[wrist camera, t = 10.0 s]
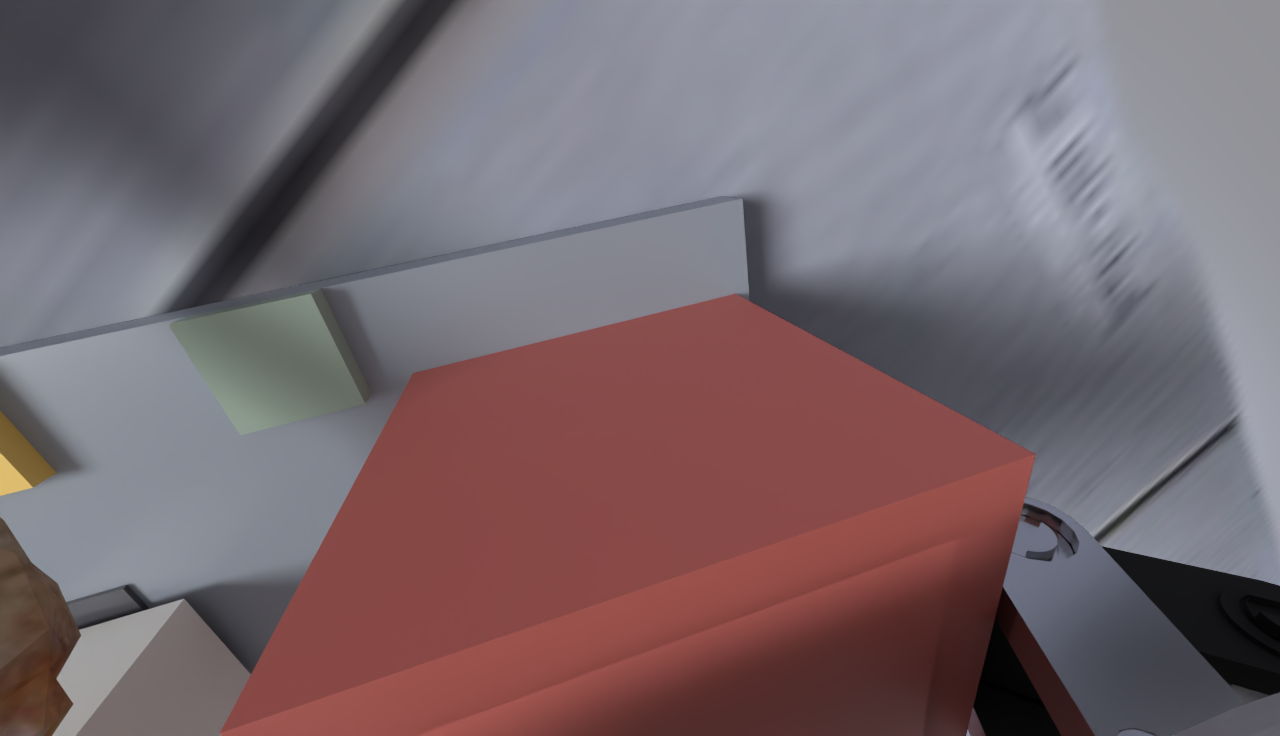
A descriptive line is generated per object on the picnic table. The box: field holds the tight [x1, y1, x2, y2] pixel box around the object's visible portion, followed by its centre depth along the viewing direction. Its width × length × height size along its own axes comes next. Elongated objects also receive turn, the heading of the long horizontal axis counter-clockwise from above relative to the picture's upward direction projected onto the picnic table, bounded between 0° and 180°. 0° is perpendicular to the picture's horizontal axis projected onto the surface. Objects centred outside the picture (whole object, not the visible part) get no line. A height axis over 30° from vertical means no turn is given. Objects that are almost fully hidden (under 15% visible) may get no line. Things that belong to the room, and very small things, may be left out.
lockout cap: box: [219, 294, 1036, 736], centre depth 7 cm, size 6×6×6 cm
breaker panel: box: [0, 197, 750, 674], centre depth 9 cm, size 15×18×6 cm
